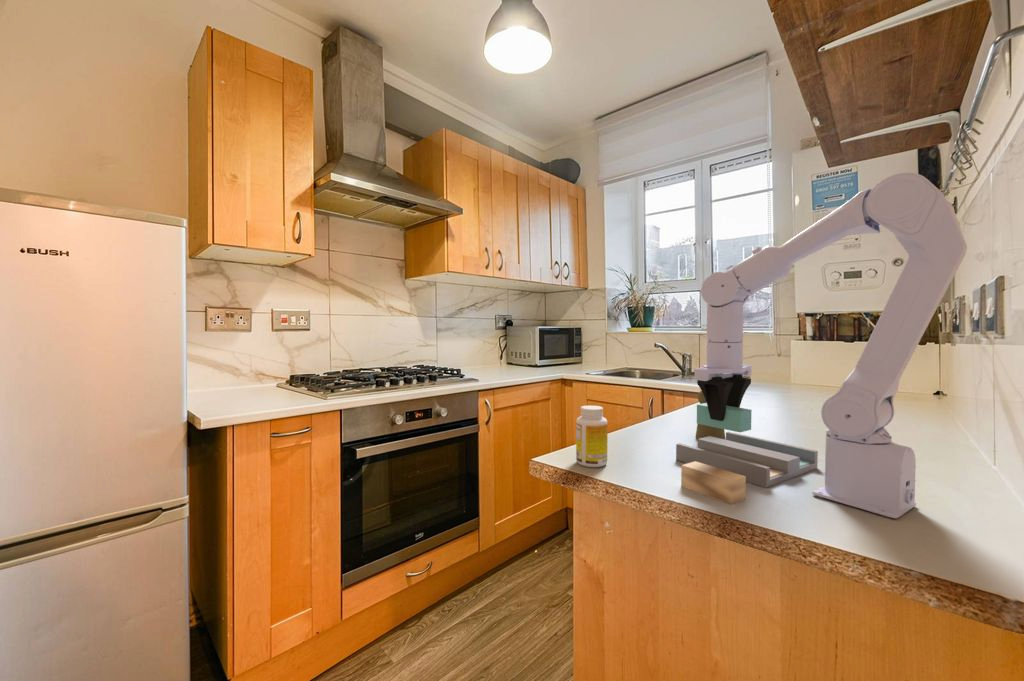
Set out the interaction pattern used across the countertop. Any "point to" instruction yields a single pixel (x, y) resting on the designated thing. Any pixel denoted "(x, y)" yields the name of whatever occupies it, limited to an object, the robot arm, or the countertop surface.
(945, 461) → the countertop surface
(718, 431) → the cork
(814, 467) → the rack
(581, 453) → the supplement bottle
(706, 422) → the teal stick
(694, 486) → the oak stick
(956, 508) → the countertop surface
